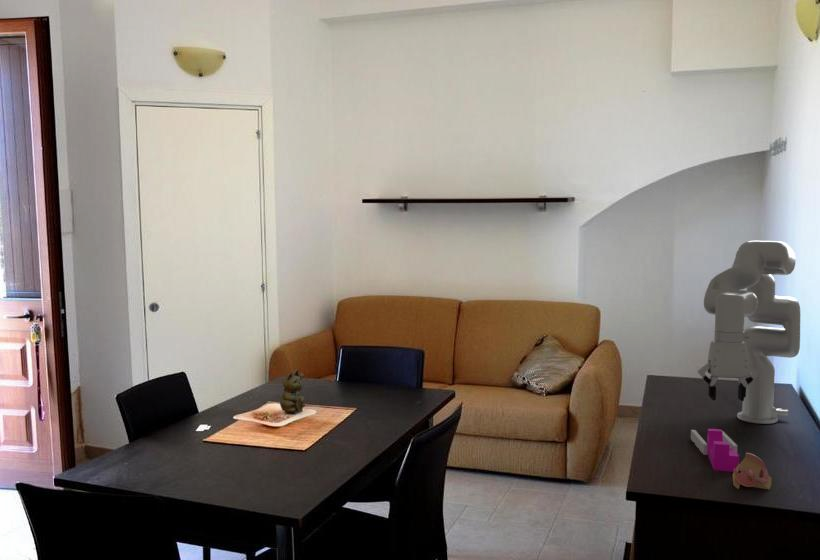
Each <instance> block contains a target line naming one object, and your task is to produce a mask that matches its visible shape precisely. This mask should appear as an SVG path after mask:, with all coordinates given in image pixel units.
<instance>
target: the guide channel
mask: <svg viewBox="0 0 820 560" xmlns="http://www.w3.org/2000/svg"><path fill="white" fill-rule="evenodd" d="M722 431H723V430H722ZM690 440H691V441H692V442H694V443H695V444H694V443H693V444H694V446H696V447H697V449H698V448H699V449H698V450H699V451H700V452H701V454H702V453H703V454H702V455H704V456H708V444H707V441H705V440H704V439H703V437H702V436H701V435H700V434H699V433H698V431H697V430H696V429H690ZM723 442H728V443H729V448H733V451H734V452H737V453H738V444H737V443H736V442H734V440H733V439H732V438H731V437H730V436H728V435H727V433H726V432H725V431H723Z"/></svg>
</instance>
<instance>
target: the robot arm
mask: <svg viewBox="0 0 820 560" xmlns="http://www.w3.org/2000/svg"><path fill="white" fill-rule="evenodd" d="M795 267H796V255H795V252H794V250H793V249H792V248H791V247H790V246H789V244H787V243H786V242H784V241H780V240H750V241H749V240H748V241H746V242H745V241H744V242H743V243H742V244H741V245H740V246H739V248H738V250H736V253H735V258H734V261H733V264H732V266H731V267H730V268H726V269H725V270H724V271H722V272H720V273H718V274H717V275H715V276H714V277H713V278H712V279H710V281H709V283H708V286H707V288H706V291H705V293H704V297H703V306H704V308H703V309H704V310H705V311H706V313H707V314H710V315H714V340H710V345H709V349H708V355H707V363H706V364H705V365H703V366H702V367H701V368H700V369H698V370H697V374H699V376H700V377H701V378H702V379H703V380H704V381H705V382H706V383H707V385H708V393H707V394H708V397H709V398H710V400H712V401H716V400H717V386H716V382H717V381H718V380H719V379H720V378H724V379H725V378H727V379H738V382H739V384H738V385H737V388H738V389H737V399H738V400H739V401H741V402H742V404H741V405H742V407H741V411H738V412H737V413H736V418H738V420H740V421H743V422H747V423H751V424H759V425H761V424H764V425H770V424H775V423H778V422H779V421H778V420H779V416H789V409H783V408H777V407H775V406H774V401H775V400H774V398H775V396H774V395H775V371H776V370H775V366H774V364H773V363H772V361H771V360H770V359H769V358H768V357H779V358H795V357H797V356H798V354H799V352H800V348H801V306H800V303H799V301H798V299H796V298H795V297H793V296H785V295H784V296H782V295H776V281H775V278H774V275H776V276H777V275H778V276H788V275H791V274H792V273H793V271H794V270H795ZM745 289H746V290H745ZM745 318H747V319H748V320H749V322H750V323H751V322H752V323H753V324H761V325H762V324H763V325H774V326H782V328H781V327H772V326H760V325H759V326H758V325H757V326H756V325H755V326H749V327H747V328H745ZM706 372H707V373H708V374H709V375H710V376H709V377H708V376H707V374H706Z"/></svg>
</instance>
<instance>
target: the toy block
mask: <svg viewBox="0 0 820 560" xmlns="http://www.w3.org/2000/svg"><path fill="white" fill-rule="evenodd" d="M706 443H707V444H708V455H707V456H708V459H709V461H710V464H711V467H712V469H713V471H720V472H734V469H736V467H737V466H738V465H739V464H740V456H739V454H738V451H737V452H734V451H733V448H729V443H728V442H723V430H722V429H721V428H720V429H718V428H707V439H706Z"/></svg>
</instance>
